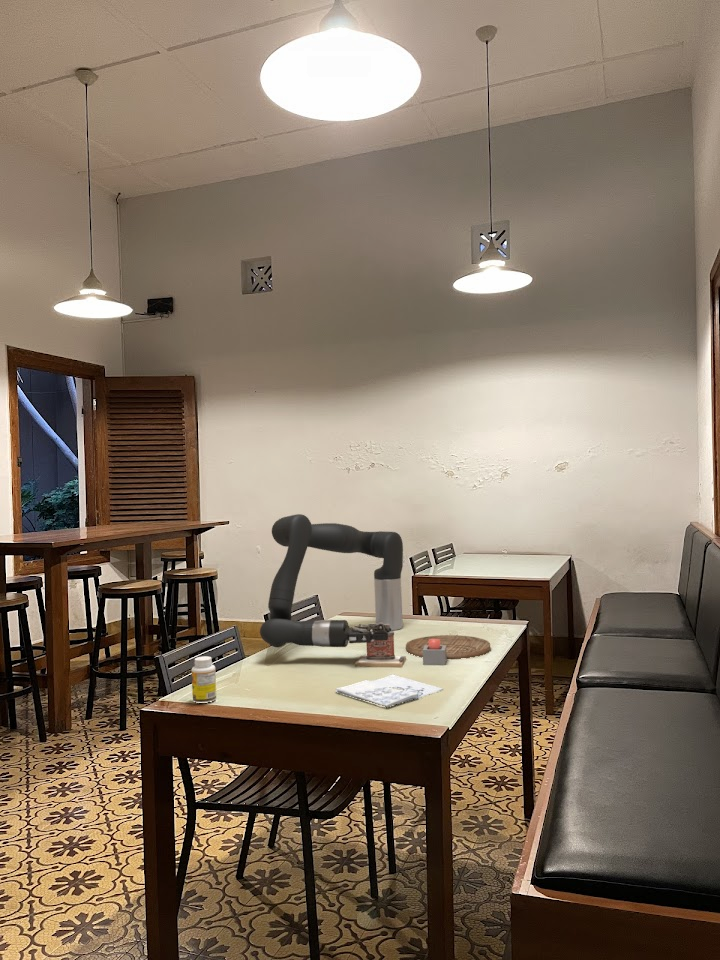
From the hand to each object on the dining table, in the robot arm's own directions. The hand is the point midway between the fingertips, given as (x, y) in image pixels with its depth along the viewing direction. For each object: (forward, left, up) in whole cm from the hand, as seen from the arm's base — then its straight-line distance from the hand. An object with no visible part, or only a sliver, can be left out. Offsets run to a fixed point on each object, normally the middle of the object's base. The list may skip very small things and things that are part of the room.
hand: (389, 633), depth 204 cm
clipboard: (0, -3, -8) cm, 8 cm away
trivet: (-17, +15, -9) cm, 24 cm away
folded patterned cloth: (+28, +4, -9) cm, 30 cm away
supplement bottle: (+39, -39, -8) cm, 55 cm away
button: (-1, +12, -6) cm, 14 cm away
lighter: (0, -3, -7) cm, 8 cm away
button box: (-1, +12, -8) cm, 15 cm away
